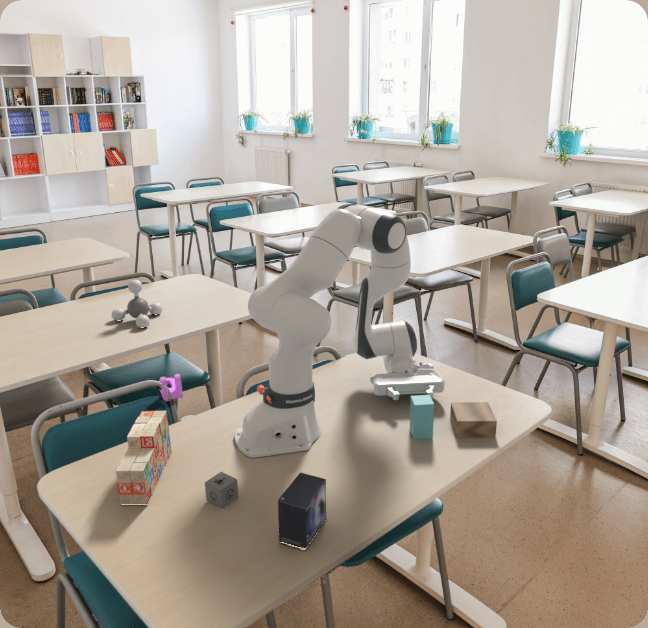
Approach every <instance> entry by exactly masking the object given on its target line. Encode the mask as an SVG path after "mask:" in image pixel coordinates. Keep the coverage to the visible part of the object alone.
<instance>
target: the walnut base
mask: <svg viewBox="0 0 648 628" xmlns="http://www.w3.org/2000/svg"><path fill="white" fill-rule="evenodd" d="M449 418H450V421H451V424H452V428H453V430H454V434H455V437H456V438H496V437H497V426H498V425H497V424H498V420H497V417H496V415H495V414H494V412H493V409H492V408H491V406H490V403H489V402H488V401H487V402H486V401H485V402H484V401H482V402H481V401H479V402H477V401H476V402H469V401H468V402H465V401H464V402H460V401H459V402H456V401H455V402H450V415H449Z"/></svg>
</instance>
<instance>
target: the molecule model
mask: <svg viewBox="0 0 648 628" xmlns="http://www.w3.org/2000/svg"><path fill="white" fill-rule="evenodd" d="M127 288H128V291H129V292H130V293H132V294H133V298H131V299H130V301H128V303H127V307H126V308H127V309H126V310H124V309H122V308H121V307H120V308H119V307H118V308H114V309H112V312H111V319H112V320H113V319H114V321H115V320H122V319H124V318H125V319H126V315H129V316H130V317H132V318H134V319H135V325H136V326H137V327H138V328H139V327H147V326H148V327H150V325H151V319H150V318H149V316H147V315H148V313H150V314H151V315H152V314H159V315H161V314H162V312H163V307H162V304H160V303H159V302H152V303H150V304H149V302H147V300H146V299H144V298H142V297H140V296H139V293H140V292H141V291H142V289H143V283H142V282H141V281H140V280H138V279H132V280H130V281H129V282H128V284H127ZM125 319H124V320H125ZM148 327H147V328H148Z"/></svg>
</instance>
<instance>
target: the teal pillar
mask: <svg viewBox="0 0 648 628" xmlns="http://www.w3.org/2000/svg"><path fill="white" fill-rule="evenodd" d="M409 407H410V408H409V410H410V411H409V431H410V434H411V437H412V439H413V440H429V439H433V438H434V418H435V417H434V416H435V414H434V413H435V412H434V411H435V403H434V401H433V398H431V397H430V395H426V394H423V395H422V394H421V395H419V394H417V395H410V406H409Z"/></svg>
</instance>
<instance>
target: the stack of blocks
mask: <svg viewBox="0 0 648 628" xmlns="http://www.w3.org/2000/svg"><path fill="white" fill-rule="evenodd" d="M167 412H168V411H167V410H145V411H144V410H142V411H141V412H140V414H139V416H137V418H136V419H135V420H134V421H135V422H134V424H133V425H132V426H131V428H130V431H129V432H128V434H127V436H126V439H127V440H126V441H127V447H128V449H127V451H126V452H125V453H124V455H123V456H122V458H121V460H120V461H119V464H118V466H117V468H116V469H115V474H116V475H115V476H116V481H117V483H116V485H117V492H118V497H119V505H120V504H148V505H149V503H148V501H149V499H150V497H151V496H152V497H153V495H154V493H153V491H154V490H155V491H156V489H155V487H156V485H157V483H158V484H159V482H160V479H161V477H162V475H163V473H162V472H164V470H165V468H166V466H167V465H166V464H168V462H169V460H170V458H171V456H172V454H171V453H173V452H172V451H173V450H172V444H171V443H172V442H171V436H170V426H169V419H168V413H167ZM170 455H171V456H170ZM168 459H169V460H168ZM167 461H168V462H167ZM164 467H165V468H164ZM161 474H162V475H161ZM160 476H161V477H160ZM159 478H160V479H159ZM158 481H159V482H158ZM157 486H158V485H157ZM156 488H157V487H156ZM155 491H154V492H155ZM152 494H153V495H152ZM152 497H151V498H152ZM150 500H151V499H150ZM149 502H150V501H149Z"/></svg>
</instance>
